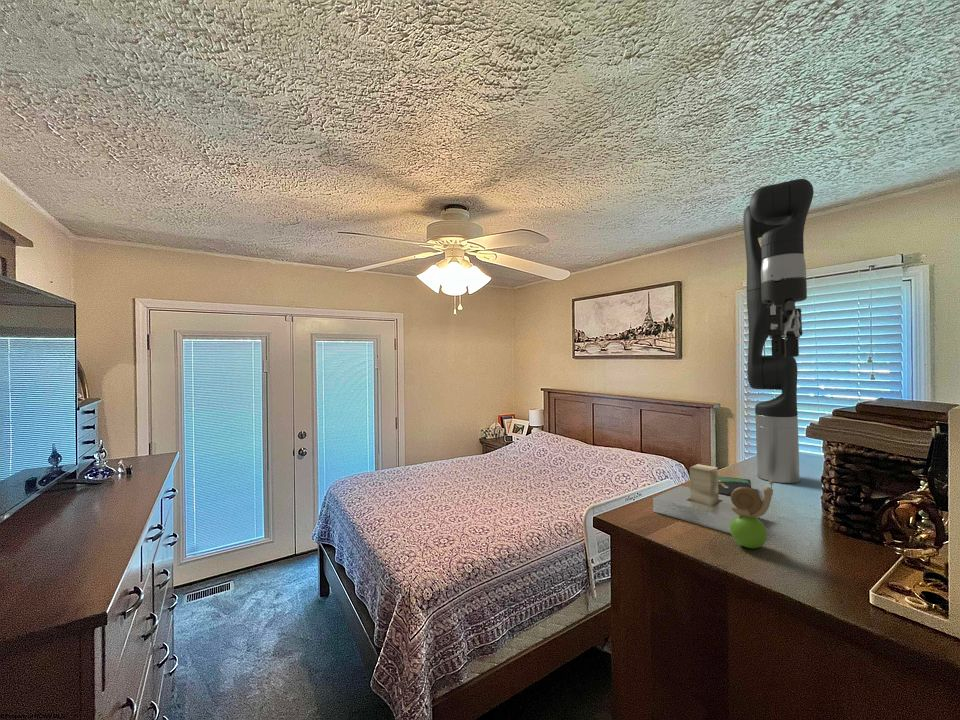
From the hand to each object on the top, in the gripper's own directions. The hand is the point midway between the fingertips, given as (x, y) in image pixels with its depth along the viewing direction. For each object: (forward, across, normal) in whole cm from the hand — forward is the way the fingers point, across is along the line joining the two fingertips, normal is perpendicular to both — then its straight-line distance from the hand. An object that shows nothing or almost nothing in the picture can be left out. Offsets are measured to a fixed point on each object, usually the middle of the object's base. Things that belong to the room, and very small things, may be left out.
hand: (785, 357), depth 83 cm
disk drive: (+34, -6, -14) cm, 37 cm away
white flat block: (+33, +12, -12) cm, 37 cm away
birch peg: (+33, +12, -12) cm, 37 cm away
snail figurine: (+33, +22, 0) cm, 40 cm away
